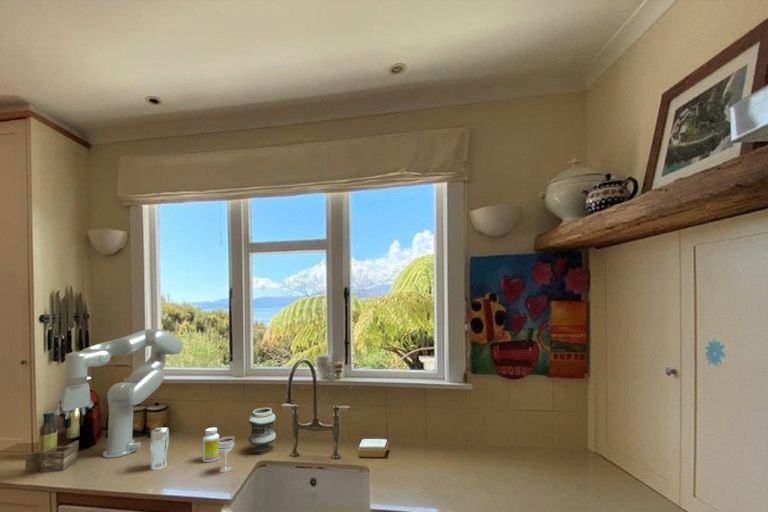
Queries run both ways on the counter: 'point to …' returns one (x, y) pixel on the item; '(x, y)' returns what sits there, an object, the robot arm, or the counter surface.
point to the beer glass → (159, 447)
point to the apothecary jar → (262, 430)
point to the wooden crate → (53, 458)
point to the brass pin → (74, 423)
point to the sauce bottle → (48, 433)
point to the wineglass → (226, 449)
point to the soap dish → (373, 447)
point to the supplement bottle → (210, 445)
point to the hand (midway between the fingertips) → (73, 425)
